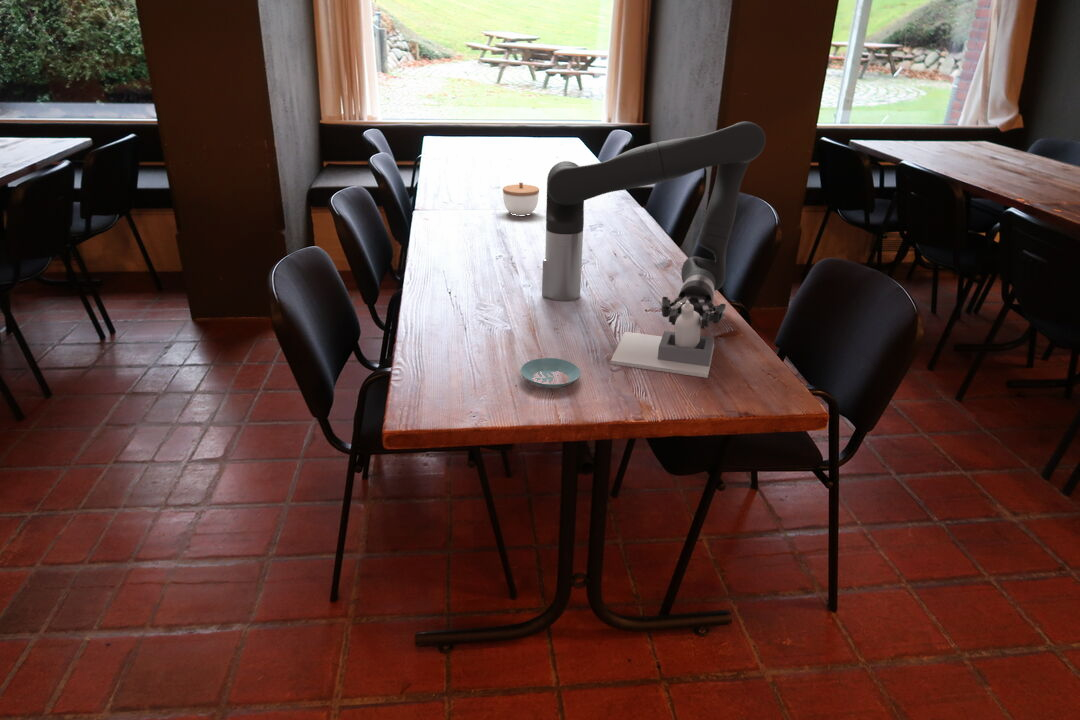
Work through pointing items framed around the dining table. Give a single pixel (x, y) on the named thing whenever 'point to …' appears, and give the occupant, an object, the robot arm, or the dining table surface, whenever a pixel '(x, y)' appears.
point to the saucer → (549, 370)
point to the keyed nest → (664, 354)
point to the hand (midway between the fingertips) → (688, 322)
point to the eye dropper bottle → (687, 327)
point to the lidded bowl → (520, 198)
